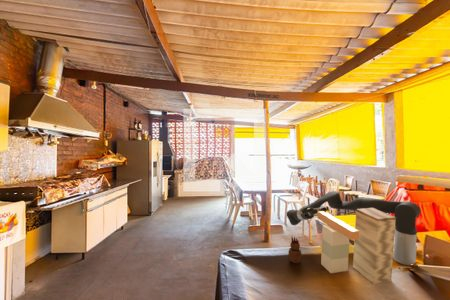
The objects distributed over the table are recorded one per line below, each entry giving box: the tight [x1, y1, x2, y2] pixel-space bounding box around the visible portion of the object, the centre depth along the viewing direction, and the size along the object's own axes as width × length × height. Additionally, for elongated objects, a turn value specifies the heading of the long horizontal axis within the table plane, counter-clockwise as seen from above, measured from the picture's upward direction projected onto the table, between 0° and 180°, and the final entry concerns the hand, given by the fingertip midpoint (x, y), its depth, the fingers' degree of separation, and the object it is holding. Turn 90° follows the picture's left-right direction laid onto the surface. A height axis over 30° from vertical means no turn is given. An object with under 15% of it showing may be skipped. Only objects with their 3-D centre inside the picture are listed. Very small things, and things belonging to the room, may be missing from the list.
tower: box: [320, 224, 350, 274], centre depth 117 cm, size 10×8×22 cm
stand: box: [352, 208, 396, 284], centre depth 112 cm, size 10×13×32 cm
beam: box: [316, 211, 359, 241], centre depth 116 cm, size 4×26×4 cm, turn 12°
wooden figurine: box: [288, 236, 302, 264], centre depth 123 cm, size 7×6×15 cm
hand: (319, 209), depth 128 cm, fingers open, 8 cm apart
